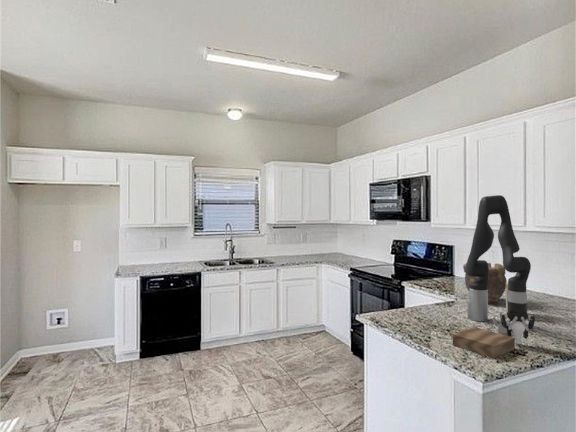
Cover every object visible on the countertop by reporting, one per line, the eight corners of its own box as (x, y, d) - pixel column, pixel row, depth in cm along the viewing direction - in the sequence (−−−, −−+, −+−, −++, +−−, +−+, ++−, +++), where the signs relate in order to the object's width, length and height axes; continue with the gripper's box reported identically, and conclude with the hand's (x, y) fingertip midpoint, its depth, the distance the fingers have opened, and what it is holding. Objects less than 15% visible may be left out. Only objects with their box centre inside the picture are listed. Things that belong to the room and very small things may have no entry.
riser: (452, 345, 160) (452, 334, 160) (474, 337, 170) (474, 326, 170) (493, 358, 145) (493, 346, 145) (514, 348, 155) (514, 337, 155)
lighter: (507, 333, 175) (507, 317, 175) (508, 334, 173) (507, 318, 173) (491, 331, 178) (491, 315, 178) (491, 332, 177) (491, 316, 177)
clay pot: (469, 295, 256) (468, 260, 256) (510, 300, 240) (510, 263, 239) (458, 302, 237) (458, 265, 237) (502, 308, 220) (502, 268, 220)
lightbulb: (507, 341, 165) (507, 317, 165) (522, 342, 163) (522, 318, 163) (511, 345, 159) (511, 321, 159) (527, 347, 157) (527, 322, 157)
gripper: (503, 302, 159) (503, 339, 159) (538, 303, 156) (539, 341, 156) (496, 298, 166) (496, 334, 166) (530, 299, 163) (531, 335, 163)
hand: (517, 337), depth 161 cm, fingers closed on lightbulb, 5 cm apart
